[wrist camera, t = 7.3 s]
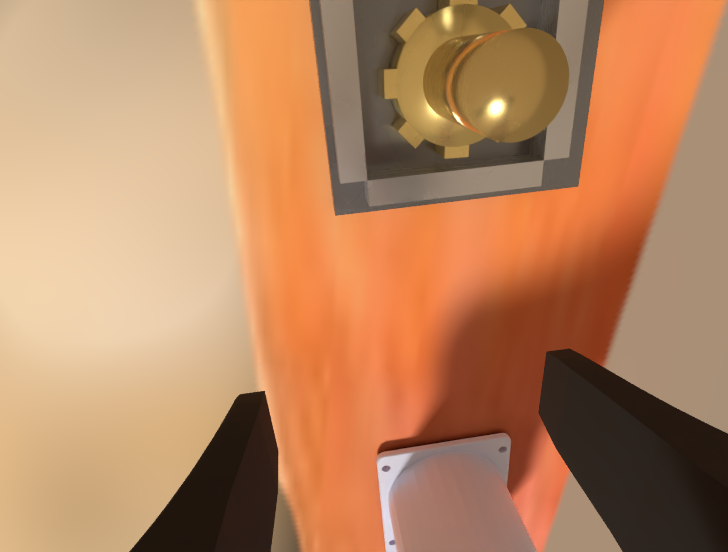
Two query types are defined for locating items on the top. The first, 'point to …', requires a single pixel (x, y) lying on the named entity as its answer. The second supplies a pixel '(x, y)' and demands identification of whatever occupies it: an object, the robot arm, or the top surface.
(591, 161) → the top surface
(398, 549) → the robot arm
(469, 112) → the planet gear
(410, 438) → the top surface
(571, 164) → the carrier
